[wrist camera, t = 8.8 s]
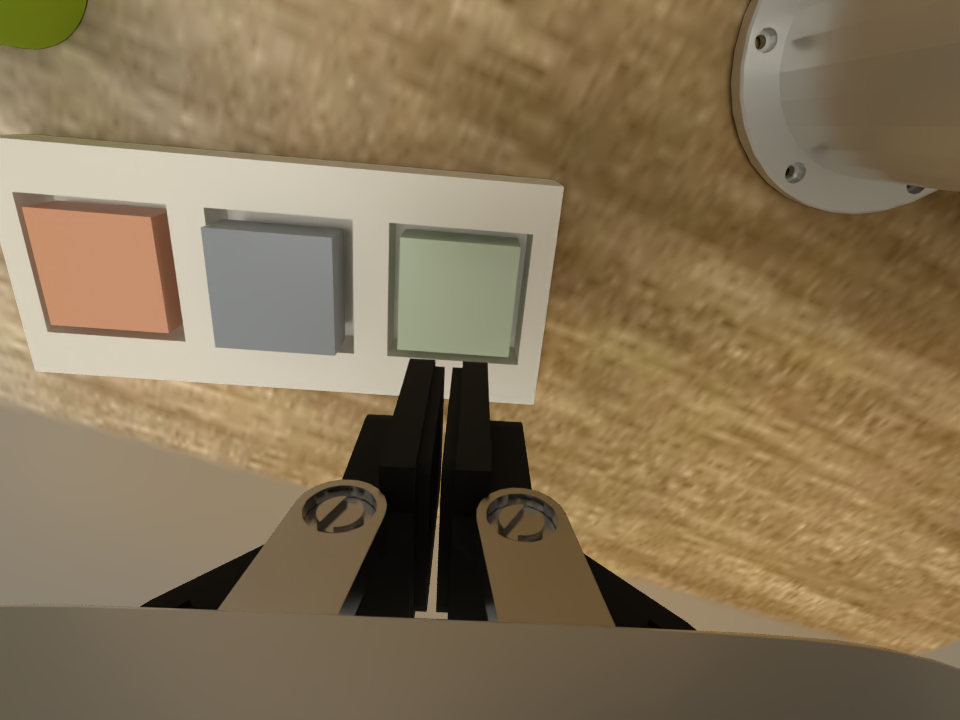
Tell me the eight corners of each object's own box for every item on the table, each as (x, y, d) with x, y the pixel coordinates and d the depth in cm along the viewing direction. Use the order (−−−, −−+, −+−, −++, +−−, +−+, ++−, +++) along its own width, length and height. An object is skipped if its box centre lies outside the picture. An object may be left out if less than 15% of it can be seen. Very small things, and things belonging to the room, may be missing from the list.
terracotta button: (175, 210, 23) (150, 217, 22) (190, 318, 25) (168, 333, 24) (57, 200, 23) (21, 206, 21) (81, 310, 25) (51, 325, 23)
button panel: (553, 179, 24) (564, 186, 22) (527, 377, 28) (533, 404, 26) (30, 134, 23) (-29, 135, 21) (79, 346, 27) (35, 371, 25)
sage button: (517, 238, 24) (520, 247, 22) (505, 341, 26) (508, 357, 24) (405, 228, 24) (399, 237, 22) (402, 333, 26) (397, 349, 24)
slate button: (343, 228, 23) (331, 238, 21) (345, 338, 25) (335, 355, 23) (222, 219, 23) (200, 227, 21) (234, 330, 25) (215, 347, 23)
